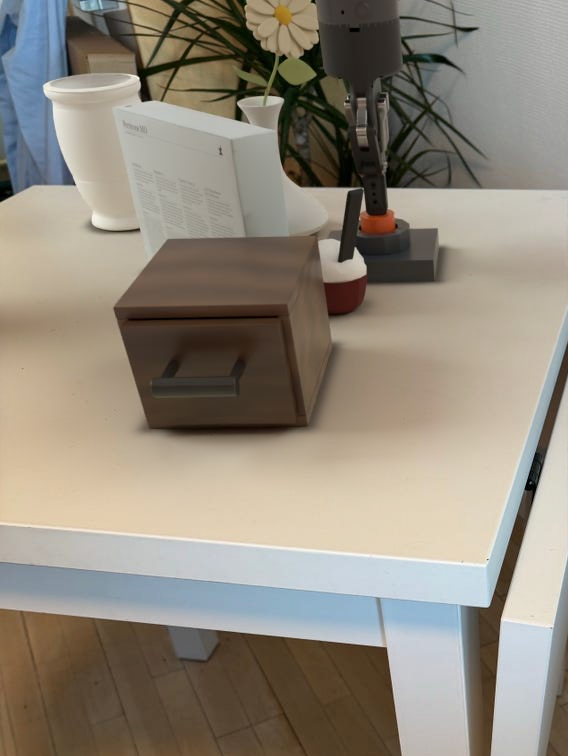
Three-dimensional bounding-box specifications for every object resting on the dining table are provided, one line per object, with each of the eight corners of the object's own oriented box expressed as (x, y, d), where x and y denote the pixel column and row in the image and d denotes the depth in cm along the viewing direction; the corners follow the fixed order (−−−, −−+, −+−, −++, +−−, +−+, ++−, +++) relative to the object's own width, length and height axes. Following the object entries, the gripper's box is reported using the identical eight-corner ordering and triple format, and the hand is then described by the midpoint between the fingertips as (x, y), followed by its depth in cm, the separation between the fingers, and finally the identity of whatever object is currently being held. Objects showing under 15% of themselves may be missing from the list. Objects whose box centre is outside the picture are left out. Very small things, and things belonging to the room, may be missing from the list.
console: (320, 283, 94) (314, 244, 92) (333, 250, 102) (328, 213, 99) (434, 281, 94) (432, 241, 92) (439, 248, 102) (437, 210, 99)
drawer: (286, 451, 67) (267, 349, 62) (131, 454, 67) (99, 352, 62) (320, 348, 80) (307, 257, 75) (191, 350, 81) (169, 260, 75)
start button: (359, 237, 94) (357, 219, 93) (363, 225, 97) (361, 208, 96) (394, 236, 94) (392, 218, 93) (396, 225, 97) (395, 207, 96)
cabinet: (307, 426, 72) (287, 303, 65) (148, 428, 72) (112, 307, 66) (332, 346, 83) (317, 235, 76) (194, 349, 83) (167, 238, 77)
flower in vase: (234, 256, 101) (180, -18, 85) (231, 224, 110) (181, -31, 93) (350, 244, 103) (319, -26, 87) (338, 214, 112) (308, -38, 95)
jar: (187, 210, 114) (156, 72, 104) (146, 237, 107) (109, 91, 97) (111, 206, 116) (74, 70, 106) (67, 232, 109) (22, 89, 99)
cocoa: (301, 296, 92) (281, 168, 84) (361, 288, 93) (347, 160, 85) (316, 333, 85) (296, 196, 77) (381, 323, 86) (368, 188, 78)
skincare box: (305, 307, 90) (278, 128, 79) (260, 324, 87) (225, 140, 76) (191, 258, 101) (154, 96, 90) (148, 272, 98) (104, 105, 88)
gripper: (327, 4, 88) (349, 195, 100) (306, 26, 78) (333, 235, 90) (404, 1, 88) (417, 193, 99) (392, 23, 78) (408, 233, 90)
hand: (377, 212), depth 94 cm, fingers closed
